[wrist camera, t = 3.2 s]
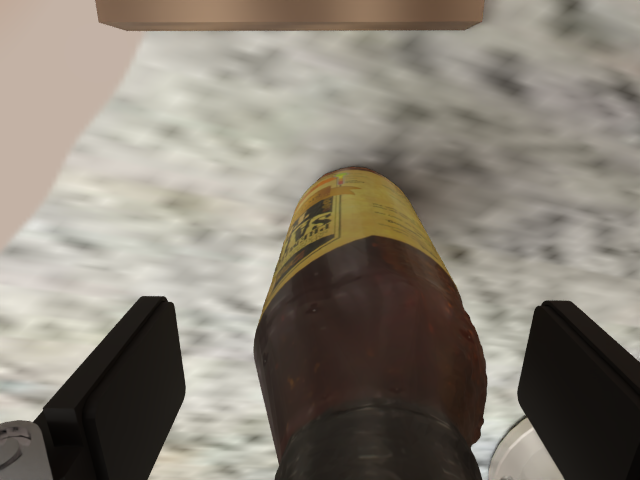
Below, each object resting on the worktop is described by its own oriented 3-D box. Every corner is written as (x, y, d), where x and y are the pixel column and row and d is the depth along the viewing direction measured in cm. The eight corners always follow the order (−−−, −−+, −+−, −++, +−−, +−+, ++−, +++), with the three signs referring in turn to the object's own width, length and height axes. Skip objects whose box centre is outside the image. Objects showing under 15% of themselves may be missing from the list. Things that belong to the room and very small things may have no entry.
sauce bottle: (311, 149, 21) (140, 538, 3) (426, 181, 22) (983, 725, 3) (282, 261, 24) (75, 909, 5) (386, 289, 24) (571, 994, 5)
